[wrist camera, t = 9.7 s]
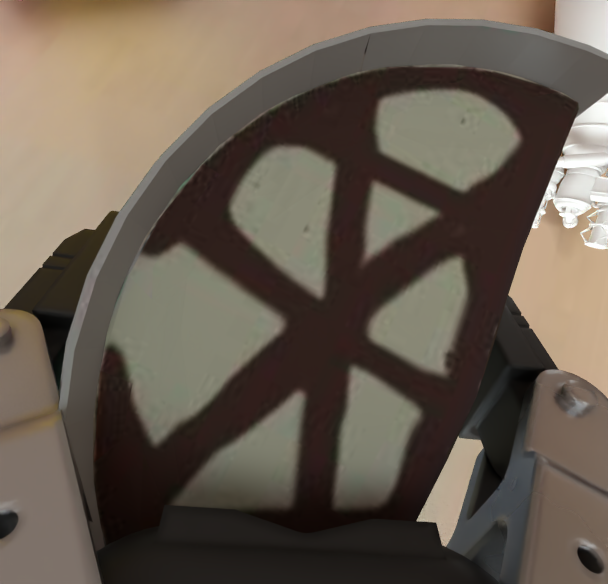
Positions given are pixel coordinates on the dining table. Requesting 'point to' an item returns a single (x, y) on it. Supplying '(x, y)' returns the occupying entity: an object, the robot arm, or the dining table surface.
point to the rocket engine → (583, 132)
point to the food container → (318, 278)
